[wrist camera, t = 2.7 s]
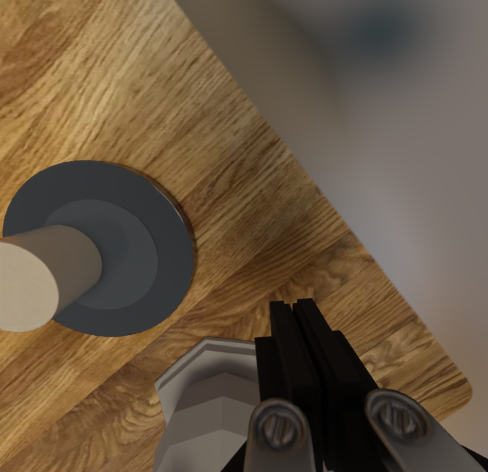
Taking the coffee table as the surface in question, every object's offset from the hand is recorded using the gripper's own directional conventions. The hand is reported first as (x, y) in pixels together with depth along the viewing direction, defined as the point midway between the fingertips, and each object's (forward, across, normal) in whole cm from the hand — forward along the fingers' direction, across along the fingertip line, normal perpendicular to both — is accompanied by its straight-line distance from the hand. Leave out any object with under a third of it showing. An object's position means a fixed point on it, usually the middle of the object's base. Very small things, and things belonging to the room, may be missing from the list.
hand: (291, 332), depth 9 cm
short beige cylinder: (+11, +17, 0) cm, 20 cm away
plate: (+13, +14, -1) cm, 19 cm away
